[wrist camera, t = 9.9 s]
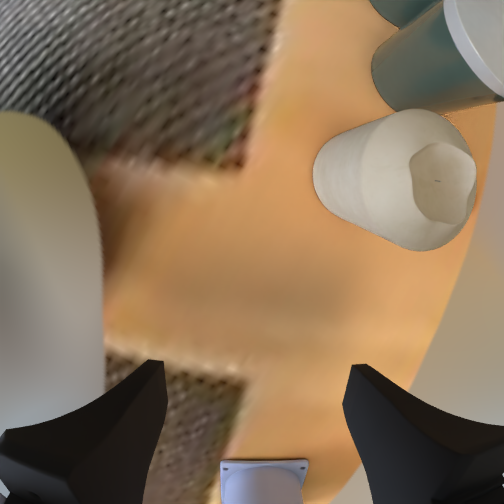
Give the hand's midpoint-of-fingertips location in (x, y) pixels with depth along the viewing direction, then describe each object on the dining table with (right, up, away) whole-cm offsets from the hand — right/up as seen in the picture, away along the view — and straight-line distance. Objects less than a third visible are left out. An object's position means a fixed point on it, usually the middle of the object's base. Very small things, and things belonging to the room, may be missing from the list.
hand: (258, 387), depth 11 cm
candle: (+6, +10, +8) cm, 14 cm away
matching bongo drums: (+11, +20, +5) cm, 23 cm away
